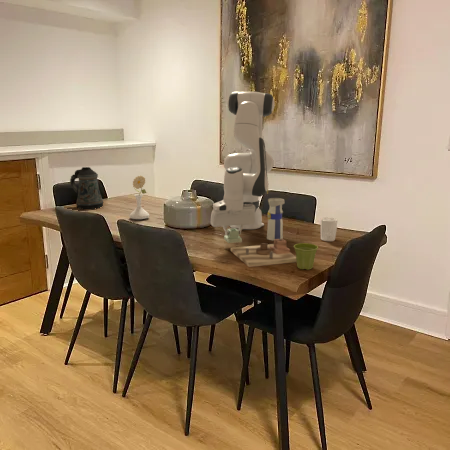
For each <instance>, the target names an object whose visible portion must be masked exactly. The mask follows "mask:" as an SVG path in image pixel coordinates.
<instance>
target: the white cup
mask: <svg viewBox="0 0 450 450" xmlns="http://www.w3.org/2000/svg"><path fill="white" fill-rule="evenodd" d="M337 230H338V219H337V218H335V217H322V218H320V240H322V241H324V242H334V241H335V240H336V236H337Z"/></svg>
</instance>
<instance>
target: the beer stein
mask: <svg viewBox="0 0 450 450" xmlns="http://www.w3.org/2000/svg"><path fill="white" fill-rule="evenodd" d="M98 178H99V174H98V172H96V171H94V170H93V169H92V168H91V167H89V166H88V167H86V166H82V167H81V169H77V170H75V171H74V174H72V175H71V176H70V179H69V181H70V182H69V183H70V186H71V188H72V190H73V191H74V192H75V193H76V194H77V199H76V204H75V205H76V206H77V209H78V208H79V210H84V209H91V210H96V209H95V208H99V209H101V208H100V207H102V206H103V207H104V199H103V198H102V194H101V191H100V187H99V182H98ZM76 179H78V187H77V185H76V183H75V181H76ZM103 207H102V208H103Z"/></svg>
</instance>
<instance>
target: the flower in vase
mask: <svg viewBox="0 0 450 450" xmlns="http://www.w3.org/2000/svg"><path fill="white" fill-rule="evenodd" d="M145 184H146V178H145V176H143V175H137V176H136V177H135V178H134V179H133V181H132V185H133V187H132V188H134V190H135V191H136V192H138V193H136V194H133V196H134V197H135V200H136V207H135V209H134V210H133V211H131V213H130V214H129V218H130V219H132V220H145V219H148V218H149V217H150V216H151V215H150V214H149V212H148V211H146V210H145V209H144V208H143V207H142V198H143V196H144V194H147V191H146V189H144V188H143V187H144V186H145ZM140 189H141V190H140Z"/></svg>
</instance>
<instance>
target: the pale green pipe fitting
mask: <svg viewBox="0 0 450 450" xmlns="http://www.w3.org/2000/svg"><path fill="white" fill-rule="evenodd" d="M226 230H227V231H229V235H227V236H226V235H223V239H224V241H225V242H227V243H228V244H235V243H242V242H243V238H242V237H241V236H240V234H239V231H238V228H226Z"/></svg>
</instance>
